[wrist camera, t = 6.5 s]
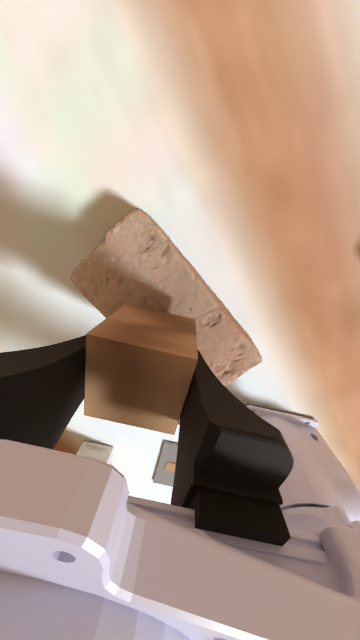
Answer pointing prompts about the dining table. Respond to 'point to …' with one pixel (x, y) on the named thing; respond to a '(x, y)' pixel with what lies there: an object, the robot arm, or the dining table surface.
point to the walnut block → (140, 367)
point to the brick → (164, 291)
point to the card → (166, 464)
